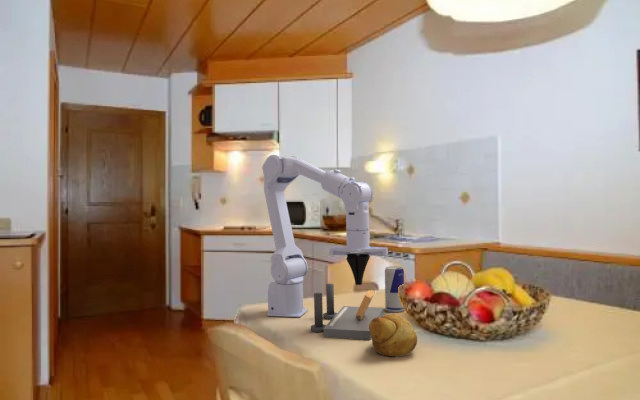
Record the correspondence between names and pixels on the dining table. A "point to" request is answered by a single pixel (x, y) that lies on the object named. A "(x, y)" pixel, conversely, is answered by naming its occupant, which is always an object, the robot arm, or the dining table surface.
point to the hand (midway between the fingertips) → (358, 284)
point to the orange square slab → (364, 305)
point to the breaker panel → (351, 323)
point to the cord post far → (329, 302)
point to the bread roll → (392, 335)
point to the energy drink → (393, 288)
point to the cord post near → (318, 314)
